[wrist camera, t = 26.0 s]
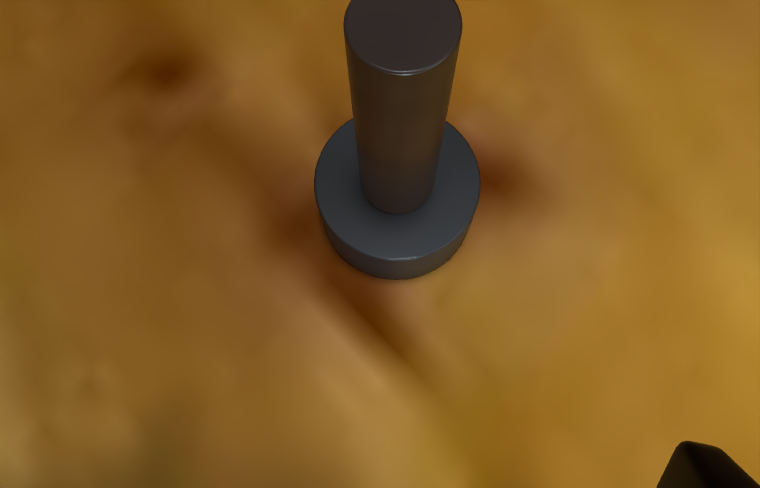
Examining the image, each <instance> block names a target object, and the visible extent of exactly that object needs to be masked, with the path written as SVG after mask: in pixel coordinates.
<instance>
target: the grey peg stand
mask: <svg viewBox="0 0 760 488" xmlns="http://www.w3.org/2000/svg"><path fill="white" fill-rule="evenodd" d="M461 34H462V17H461V13H460V10H459V8H458V5H457V3H456V2H455V0H351V2H350V3H349V5H348V7H347V10H346V13H345V16H344V37H345V46H346V55H347V64H348V73H349V82H350V91H351V100H352V110H353V119H351V120H349V121H348V122H346V123H345V124H344V125H343V126H341V127H340V128H339V129H338V130H337V131H336V132H335V133H334V134H333V135H332V136H331V138H330V139H329V140H328V142H327V143H326V145H325V146H324V148H323V150H322V152H321V154H320V157H319V159H318V162H317V166H316V169H315V177H314V191H315V197H316V202H317V205H318V208H319V212H320V215H321V218H322V221H323V224H324V228H325V231H326V234H327V236H328V238H329V240H330V242H331V244H332V245H333V247H334V248H335V250H336V251H337V252H338V253H339V254H340V256H341V257H342V258H343V259H345V260H346V261H347V262H348V263H349V264H350V265H352V266H353V267H355V268H356V269H358V270H360V271H362V272H364V273H366V274H369V275H372V276H375V277H379V278H384V279H395V280H397V279H409V278H414V277H418V276H421V275H424V274H427V273H429V272H431V271H433V270H435V269H437V268H438V267H440V266H441V265H443V264H444V263H445V262H446V261H447V260H449V259H450V258H451V257H452V256H453V254H454V253H455V252H456V251H457V250H458V248H459V247H460V245H461V244H462V242H463V240H464V238H465V236H466V234H467V231H468V229H469V226H470V224H471V221H472V218H473V216H474V213H475V211H476V208H477V205H478V201H479V196H480V185H481V181H480V171H479V167H478V163H477V160H476V158H475V155H474V153H473V151H472V149H471V147H470V146H469V144H468V142H467V141H466V140H465V138H464V137H463V136H462V135H461V134H460V133H459V132H458V131H457V130H456V129H455V128H454V127H453V126H452V125H451V124H449V123H448V122H447V121H446V116H447V110H448V105H449V99H450V94H451V89H452V83H453V78H454V72H455V67H456V61H457V56H458V51H459V45H460V40H461Z"/></svg>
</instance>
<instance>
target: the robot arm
mask: <svg viewBox="0 0 760 488" xmlns="http://www.w3.org/2000/svg"><path fill="white" fill-rule="evenodd" d="M657 488H760V485H758V484H757V483H756V482H755V481H754V480H753V479H752V478H751V477H750V476H749V475H748V474H747V473H746V472H745V471H744V470H743V469H742V468H741V467H740V466H739V465H738V464H736V463H735V462H734V461H733V460H732V459H731V458H730V457H729V456H728V455H727V454H726V453H725V452H724V451H723V450H721V449H720V448H718V447H715V446H712V445H707V444H702V443H697V442H692V441H683V442H681V443H680V444H679V445H678V446H677V447H676V449H675V451H674V453H673V455H672V457H671V459H670V461H669V463H668V465H667V467H666V469H665V471H664V473H663V475H662V477H661V479H660V481H659V483H658V485H657Z"/></svg>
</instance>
